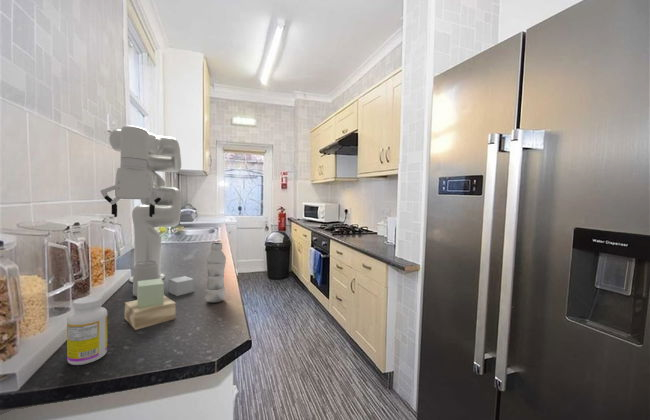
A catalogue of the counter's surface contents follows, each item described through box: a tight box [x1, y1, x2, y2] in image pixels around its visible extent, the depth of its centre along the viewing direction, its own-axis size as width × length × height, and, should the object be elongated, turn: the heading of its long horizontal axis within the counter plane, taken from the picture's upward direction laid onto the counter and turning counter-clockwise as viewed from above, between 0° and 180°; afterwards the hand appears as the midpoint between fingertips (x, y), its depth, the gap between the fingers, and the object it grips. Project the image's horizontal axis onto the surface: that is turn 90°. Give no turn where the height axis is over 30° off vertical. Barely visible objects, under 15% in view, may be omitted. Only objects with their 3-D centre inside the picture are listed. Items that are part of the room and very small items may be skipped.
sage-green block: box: [136, 278, 165, 308], centre depth 80 cm, size 6×6×6 cm
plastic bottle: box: [204, 242, 227, 304], centre depth 95 cm, size 6×7×20 cm
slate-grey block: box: [168, 275, 194, 297], centre depth 103 cm, size 6×6×5 cm
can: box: [132, 260, 158, 298], centre depth 99 cm, size 8×8×12 cm
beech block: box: [124, 295, 177, 331], centre depth 80 cm, size 10×10×5 cm
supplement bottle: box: [66, 295, 108, 366], centre depth 60 cm, size 7×7×13 cm
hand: (133, 216), depth 92 cm, fingers open, 9 cm apart
